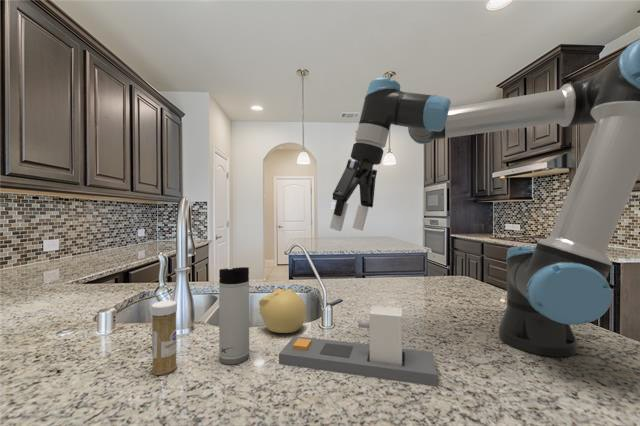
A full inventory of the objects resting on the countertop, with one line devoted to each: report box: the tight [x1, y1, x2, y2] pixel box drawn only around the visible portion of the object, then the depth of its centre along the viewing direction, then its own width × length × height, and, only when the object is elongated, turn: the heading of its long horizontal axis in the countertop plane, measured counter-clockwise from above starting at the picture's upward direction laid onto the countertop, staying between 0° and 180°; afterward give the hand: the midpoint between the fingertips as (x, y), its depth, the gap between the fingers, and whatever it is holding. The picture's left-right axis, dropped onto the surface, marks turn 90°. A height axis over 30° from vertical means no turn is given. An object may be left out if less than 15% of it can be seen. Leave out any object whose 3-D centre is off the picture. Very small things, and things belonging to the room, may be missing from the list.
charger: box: [357, 305, 403, 366], centre depth 59 cm, size 8×5×11 cm, turn 74°
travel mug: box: [218, 266, 250, 365], centre depth 65 cm, size 6×7×20 cm
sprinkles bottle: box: [150, 300, 178, 376], centre depth 60 cm, size 5×5×14 cm
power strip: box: [278, 335, 438, 387], centre depth 61 cm, size 30×9×4 cm, turn 74°
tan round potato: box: [258, 288, 307, 334], centre depth 81 cm, size 12×12×11 cm
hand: (347, 229), depth 75 cm, fingers open, 13 cm apart
